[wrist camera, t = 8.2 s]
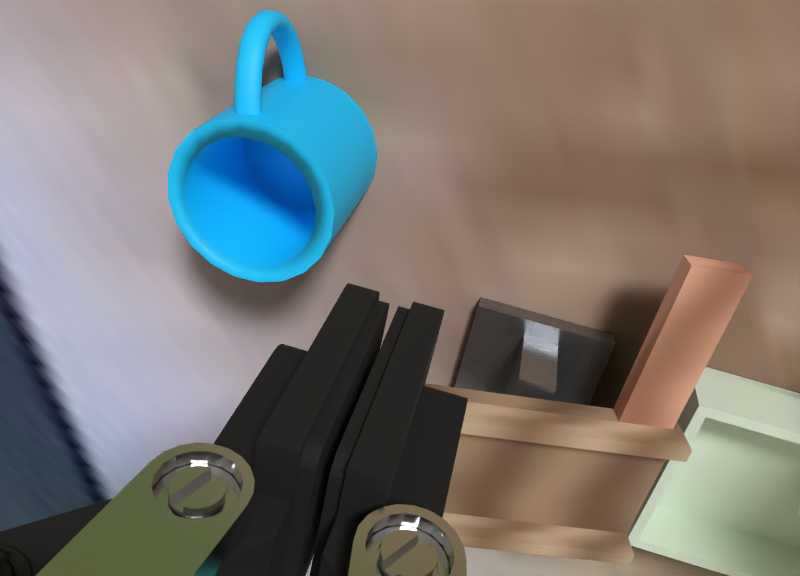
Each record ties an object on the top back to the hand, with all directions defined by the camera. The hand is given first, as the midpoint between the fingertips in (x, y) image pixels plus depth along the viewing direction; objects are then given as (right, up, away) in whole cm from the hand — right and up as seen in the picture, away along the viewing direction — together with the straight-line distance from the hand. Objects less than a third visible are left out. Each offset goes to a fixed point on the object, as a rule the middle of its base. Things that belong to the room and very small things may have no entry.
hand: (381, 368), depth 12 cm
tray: (+22, -9, +32) cm, 40 cm away
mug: (-5, +11, +27) cm, 30 cm away
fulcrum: (+8, -5, +33) cm, 34 cm away
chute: (+7, -4, +25) cm, 27 cm away
